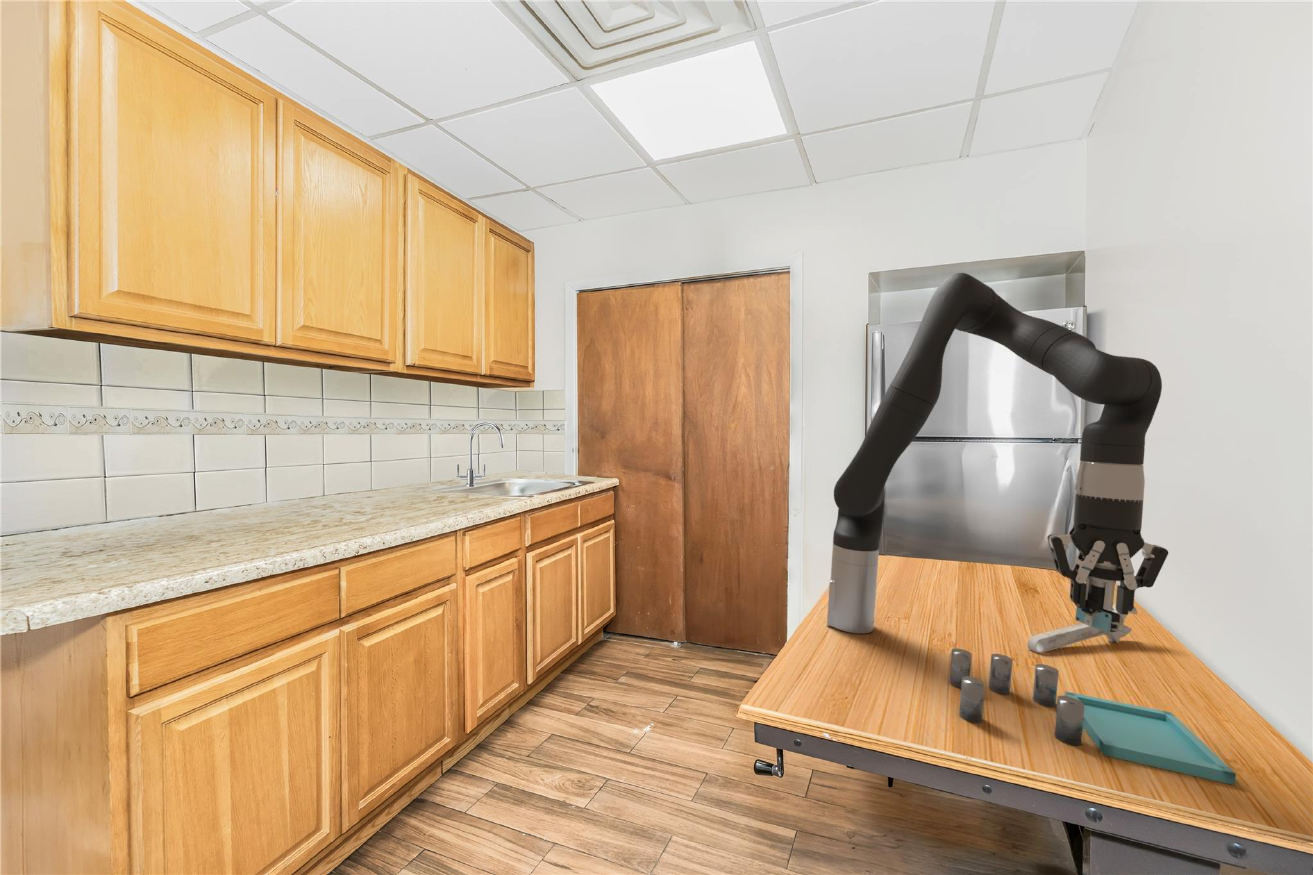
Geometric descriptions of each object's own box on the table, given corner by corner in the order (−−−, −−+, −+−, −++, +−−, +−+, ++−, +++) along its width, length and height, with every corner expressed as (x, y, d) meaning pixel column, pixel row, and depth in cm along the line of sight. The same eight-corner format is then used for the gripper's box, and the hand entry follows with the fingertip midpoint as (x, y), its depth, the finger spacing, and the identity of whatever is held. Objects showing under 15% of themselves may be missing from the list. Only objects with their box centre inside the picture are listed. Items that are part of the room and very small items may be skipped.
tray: (1102, 754, 72) (1103, 743, 72) (1064, 700, 86) (1065, 691, 86) (1234, 785, 67) (1235, 773, 67) (1170, 722, 81) (1171, 712, 81)
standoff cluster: (960, 719, 79) (963, 683, 78) (947, 675, 93) (949, 644, 92) (1084, 748, 73) (1088, 709, 73) (1050, 696, 87) (1053, 663, 87)
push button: (1139, 637, 75) (1146, 567, 75) (1109, 637, 74) (1117, 566, 74) (1091, 619, 82) (1098, 555, 81) (1063, 619, 80) (1070, 554, 80)
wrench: (1026, 664, 106) (1128, 634, 115) (1036, 668, 104) (1138, 638, 114) (1026, 625, 105) (1128, 598, 115) (1035, 628, 104) (1138, 601, 113)
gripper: (1057, 492, 76) (1049, 609, 77) (1186, 502, 71) (1177, 627, 72) (1042, 487, 83) (1035, 594, 84) (1158, 495, 78) (1150, 610, 78)
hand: (1100, 609), depth 78 cm, fingers closed on push button, 4 cm apart
